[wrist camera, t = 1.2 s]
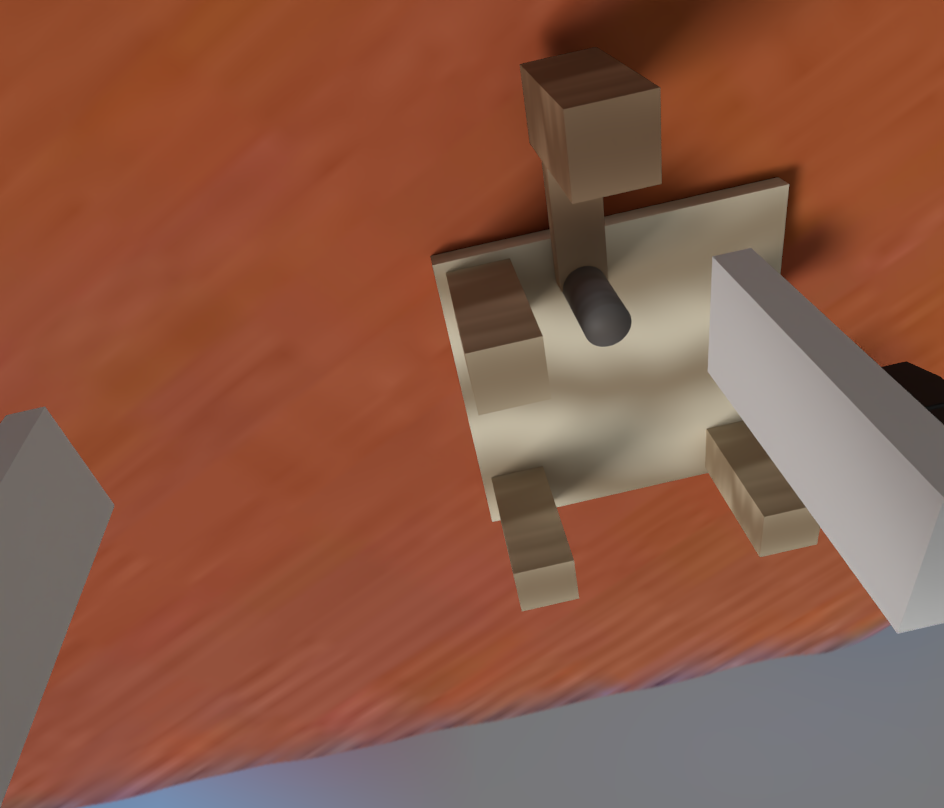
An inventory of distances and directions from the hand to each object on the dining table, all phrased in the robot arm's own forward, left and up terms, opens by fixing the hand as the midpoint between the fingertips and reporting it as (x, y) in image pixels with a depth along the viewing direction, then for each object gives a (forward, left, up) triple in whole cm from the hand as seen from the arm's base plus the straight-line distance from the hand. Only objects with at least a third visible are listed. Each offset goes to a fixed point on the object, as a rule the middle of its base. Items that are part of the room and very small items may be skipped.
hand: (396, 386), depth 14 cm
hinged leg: (+4, +8, -17) cm, 19 cm away
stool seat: (+14, +9, -19) cm, 25 cm away
